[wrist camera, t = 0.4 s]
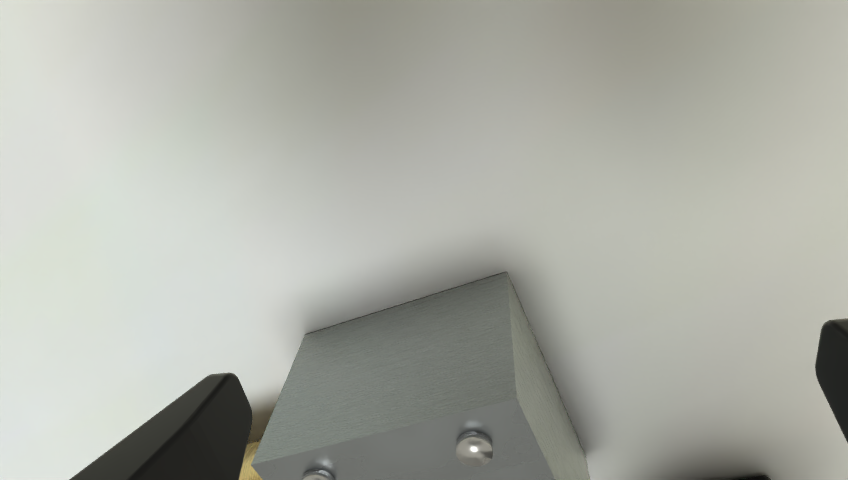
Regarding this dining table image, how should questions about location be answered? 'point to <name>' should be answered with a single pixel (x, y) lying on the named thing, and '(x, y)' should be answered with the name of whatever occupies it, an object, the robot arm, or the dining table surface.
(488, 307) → the block
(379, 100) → the dining table surface
